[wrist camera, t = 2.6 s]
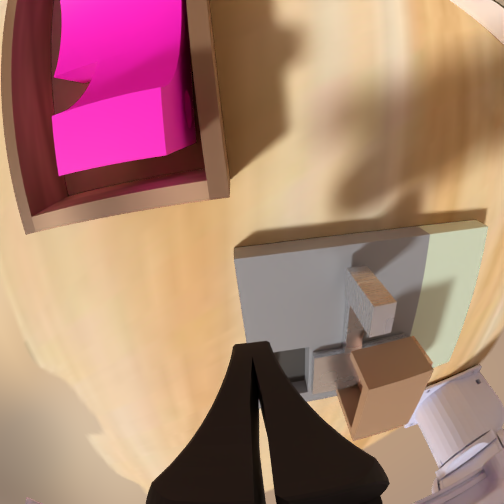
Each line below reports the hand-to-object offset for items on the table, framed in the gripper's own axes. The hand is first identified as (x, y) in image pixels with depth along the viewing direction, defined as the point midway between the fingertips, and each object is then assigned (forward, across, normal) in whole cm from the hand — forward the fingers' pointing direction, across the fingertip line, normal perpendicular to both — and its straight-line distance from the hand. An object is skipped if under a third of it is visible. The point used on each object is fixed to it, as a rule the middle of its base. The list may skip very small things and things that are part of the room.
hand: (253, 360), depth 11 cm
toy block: (+8, +4, -16) cm, 18 cm away
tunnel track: (+7, -9, +5) cm, 12 cm away
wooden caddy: (+7, +5, -16) cm, 18 cm away
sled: (+6, -8, +4) cm, 10 cm away
